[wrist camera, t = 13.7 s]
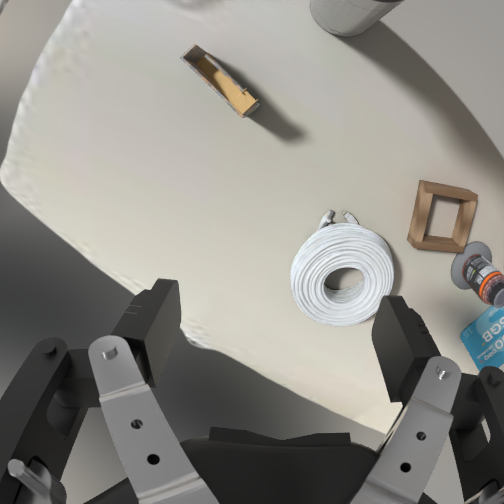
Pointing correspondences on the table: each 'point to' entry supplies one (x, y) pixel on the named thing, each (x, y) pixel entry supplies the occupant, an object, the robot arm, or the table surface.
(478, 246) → the felt coaster
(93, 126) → the table surface
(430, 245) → the walnut holder
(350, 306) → the cable
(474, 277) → the supplement bottle
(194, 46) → the grey brown narrow holder
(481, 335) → the data package
